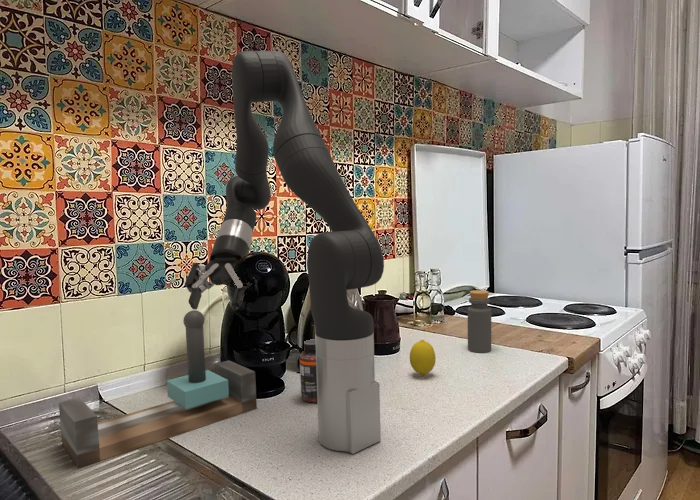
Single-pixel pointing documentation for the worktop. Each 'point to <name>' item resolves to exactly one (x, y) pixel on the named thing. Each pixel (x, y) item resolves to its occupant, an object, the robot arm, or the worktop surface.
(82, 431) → the rail
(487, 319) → the bottle
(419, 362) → the lemon
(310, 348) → the supplement bottle
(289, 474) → the worktop surface
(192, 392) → the carriage
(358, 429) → the robot arm
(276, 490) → the worktop surface
